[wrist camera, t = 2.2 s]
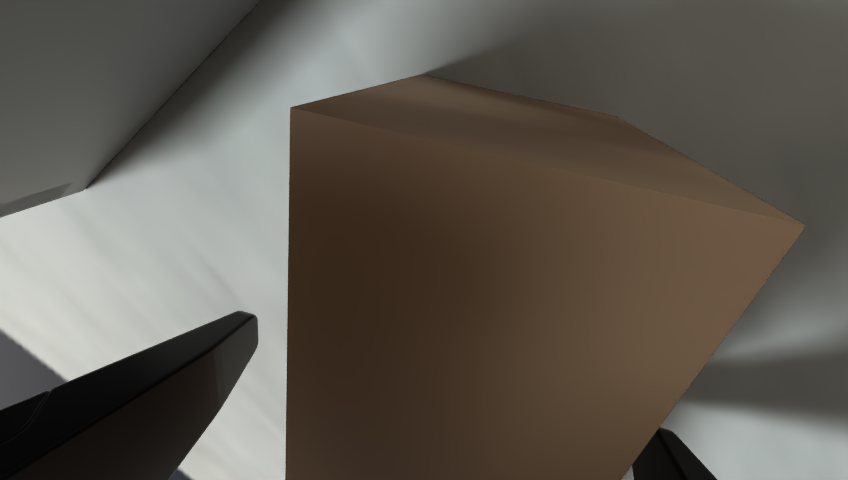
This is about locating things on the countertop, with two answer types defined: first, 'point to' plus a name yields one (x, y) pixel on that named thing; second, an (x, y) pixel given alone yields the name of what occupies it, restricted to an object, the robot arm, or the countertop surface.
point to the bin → (91, 82)
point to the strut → (500, 284)
